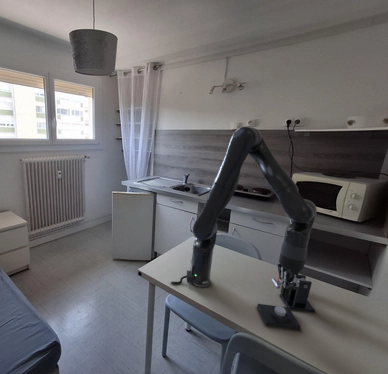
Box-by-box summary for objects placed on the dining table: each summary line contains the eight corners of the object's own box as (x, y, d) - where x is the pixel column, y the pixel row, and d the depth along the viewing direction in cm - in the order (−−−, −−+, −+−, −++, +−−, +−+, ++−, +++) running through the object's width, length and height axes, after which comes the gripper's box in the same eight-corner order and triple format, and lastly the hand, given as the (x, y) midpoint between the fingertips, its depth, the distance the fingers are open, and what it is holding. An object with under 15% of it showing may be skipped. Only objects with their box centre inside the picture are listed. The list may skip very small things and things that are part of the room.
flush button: (276, 316, 84) (277, 312, 84) (272, 309, 88) (273, 305, 87) (287, 317, 84) (288, 313, 84) (282, 310, 87) (283, 306, 87)
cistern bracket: (288, 309, 93) (294, 283, 89) (279, 295, 100) (284, 271, 97) (314, 312, 91) (321, 286, 88) (303, 298, 99) (309, 273, 96)
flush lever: (276, 289, 93) (276, 284, 92) (271, 282, 98) (271, 277, 97) (308, 288, 91) (308, 283, 90) (301, 280, 95) (301, 275, 95)
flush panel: (265, 326, 84) (267, 317, 83) (256, 307, 93) (258, 299, 92) (299, 330, 83) (301, 322, 82) (287, 311, 91) (289, 303, 90)
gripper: (273, 243, 86) (266, 282, 91) (291, 263, 74) (282, 306, 78) (294, 245, 85) (286, 284, 90) (315, 265, 73) (305, 309, 77)
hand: (284, 294), depth 84 cm, fingers closed
